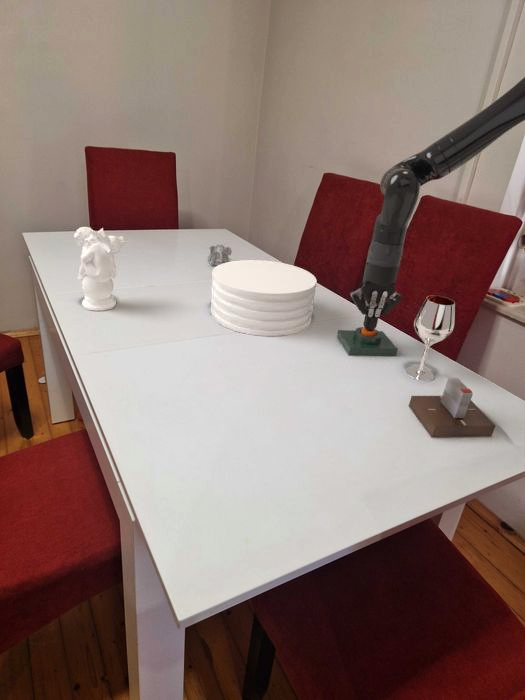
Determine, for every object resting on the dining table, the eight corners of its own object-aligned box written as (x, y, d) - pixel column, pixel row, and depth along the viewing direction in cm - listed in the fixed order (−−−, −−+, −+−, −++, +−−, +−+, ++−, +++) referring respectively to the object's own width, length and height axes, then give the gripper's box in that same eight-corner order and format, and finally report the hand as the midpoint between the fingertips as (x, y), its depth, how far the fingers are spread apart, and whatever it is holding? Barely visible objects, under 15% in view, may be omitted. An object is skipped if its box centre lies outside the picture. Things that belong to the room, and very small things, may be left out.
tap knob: (440, 401, 88) (448, 376, 86) (449, 401, 89) (458, 376, 86) (454, 418, 83) (463, 392, 81) (464, 418, 84) (473, 392, 81)
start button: (372, 333, 114) (373, 326, 113) (377, 339, 111) (378, 332, 110) (358, 332, 113) (359, 326, 113) (363, 339, 110) (364, 332, 109)
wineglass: (420, 386, 98) (442, 309, 90) (393, 369, 104) (412, 295, 96) (445, 379, 102) (469, 305, 94) (418, 363, 108) (438, 291, 100)
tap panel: (463, 405, 92) (467, 394, 91) (491, 436, 84) (496, 424, 83) (408, 406, 91) (411, 394, 89) (431, 437, 82) (435, 425, 81)
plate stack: (331, 326, 123) (338, 286, 118) (242, 343, 109) (245, 299, 104) (275, 292, 144) (278, 256, 138) (194, 303, 129) (194, 264, 124)
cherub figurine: (75, 301, 123) (66, 219, 113) (118, 293, 131) (113, 216, 121) (93, 316, 115) (86, 230, 105) (138, 307, 123) (135, 226, 113)
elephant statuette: (225, 260, 170) (226, 240, 167) (239, 270, 161) (240, 248, 158) (202, 262, 166) (202, 241, 162) (215, 272, 157) (216, 250, 153)
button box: (380, 338, 119) (383, 324, 117) (395, 356, 110) (399, 342, 108) (336, 337, 117) (339, 323, 115) (348, 356, 108) (351, 341, 106)
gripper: (403, 257, 108) (388, 323, 116) (350, 254, 106) (338, 322, 114) (417, 267, 101) (400, 336, 109) (361, 264, 99) (347, 335, 107)
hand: (368, 329), depth 111 cm, fingers closed
